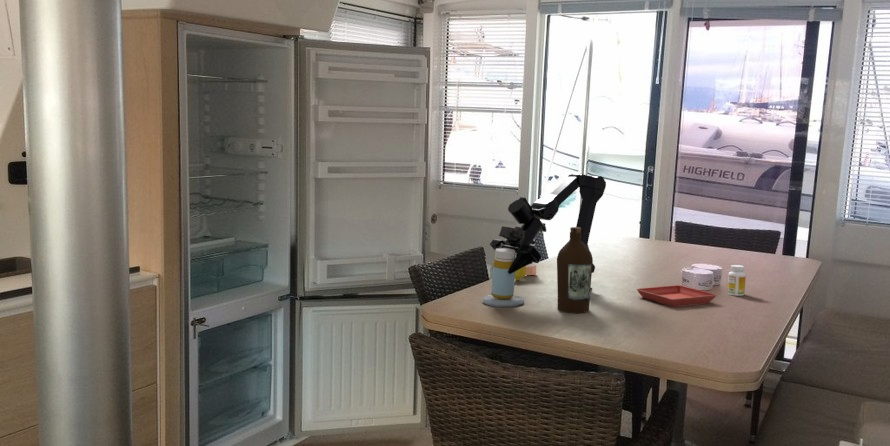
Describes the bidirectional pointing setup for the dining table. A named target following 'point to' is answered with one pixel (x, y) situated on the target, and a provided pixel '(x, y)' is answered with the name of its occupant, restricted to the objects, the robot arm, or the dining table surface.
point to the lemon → (520, 273)
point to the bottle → (503, 274)
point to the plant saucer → (676, 295)
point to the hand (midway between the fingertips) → (500, 271)
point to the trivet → (503, 301)
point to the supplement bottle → (736, 281)
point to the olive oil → (574, 275)
